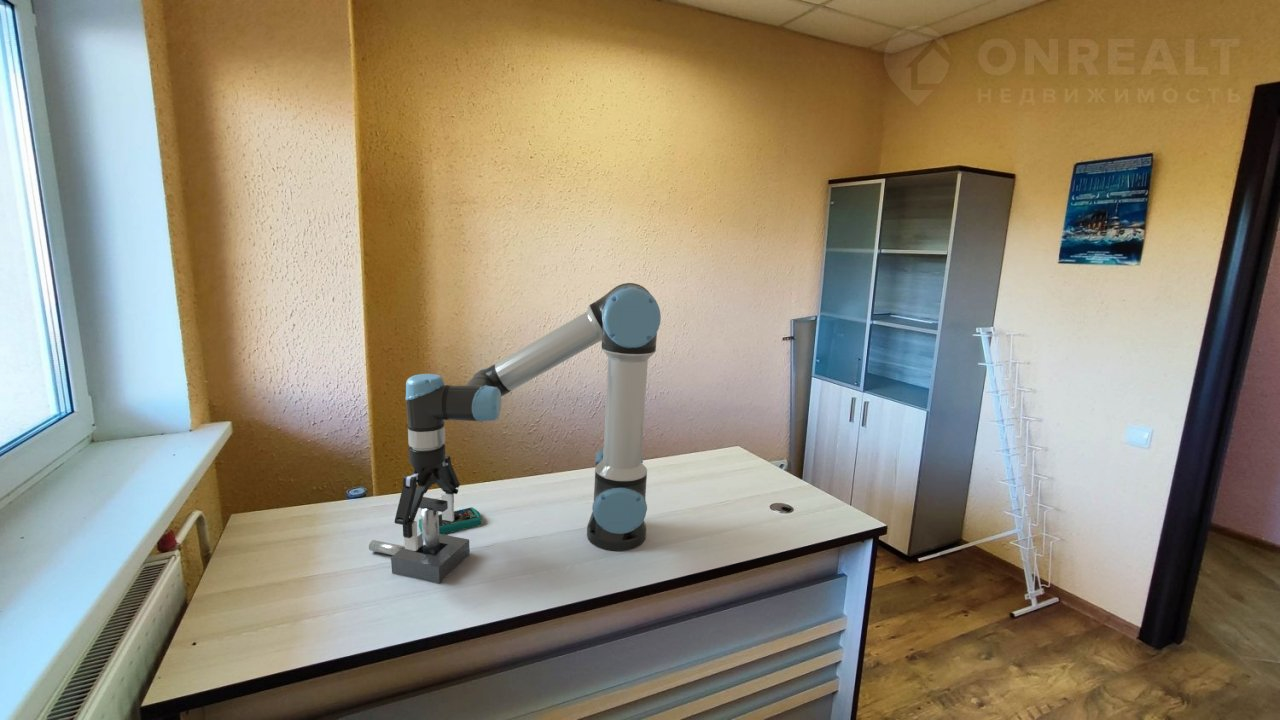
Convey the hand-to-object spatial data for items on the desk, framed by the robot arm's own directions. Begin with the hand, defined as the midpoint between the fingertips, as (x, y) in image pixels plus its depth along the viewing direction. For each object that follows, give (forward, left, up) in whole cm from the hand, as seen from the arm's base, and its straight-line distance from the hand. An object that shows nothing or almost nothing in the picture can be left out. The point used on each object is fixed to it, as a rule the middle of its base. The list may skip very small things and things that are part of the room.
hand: (430, 533), depth 129 cm
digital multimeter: (+6, -16, -8) cm, 19 cm away
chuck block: (+5, 0, -8) cm, 9 cm away
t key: (0, 0, -8) cm, 8 cm away
